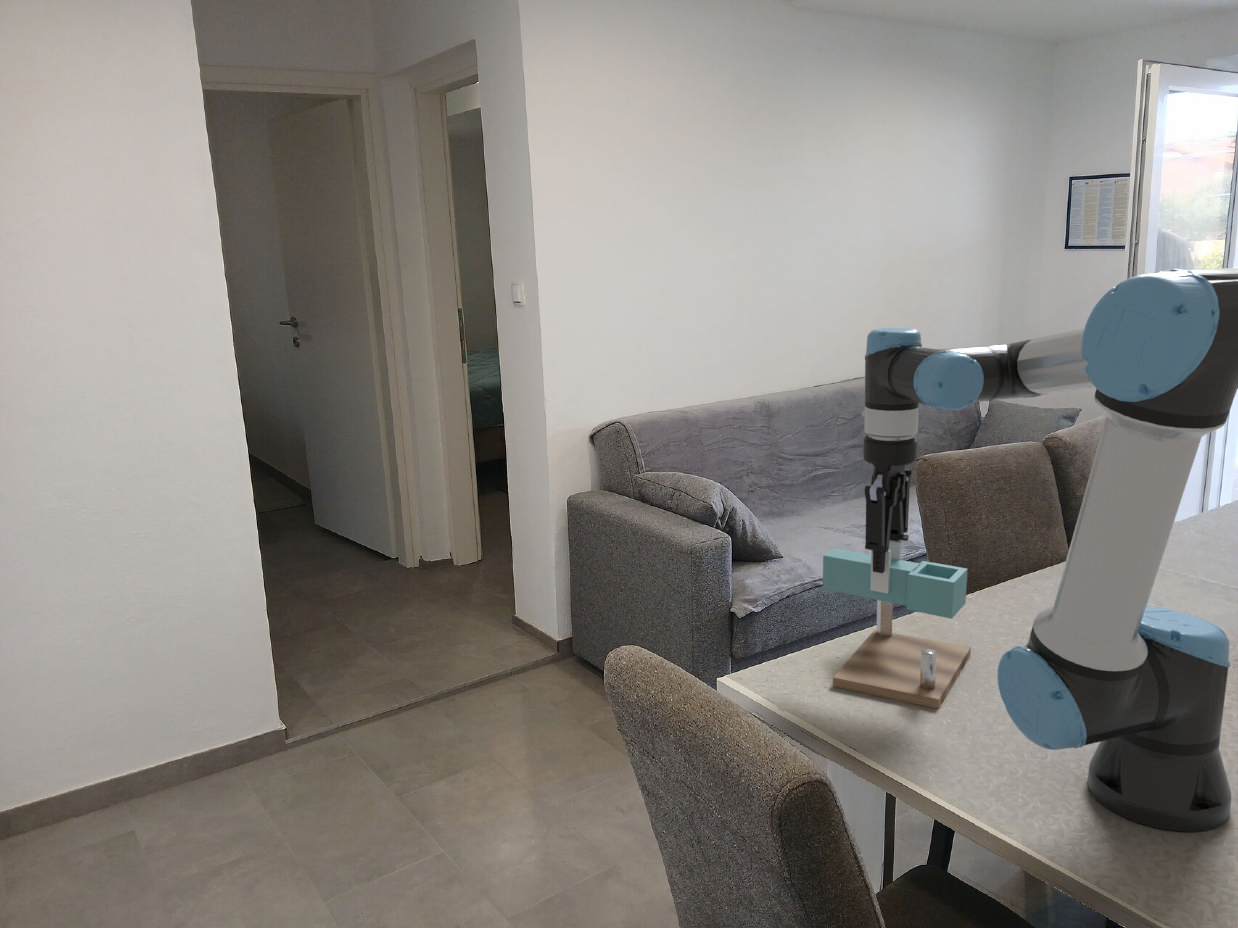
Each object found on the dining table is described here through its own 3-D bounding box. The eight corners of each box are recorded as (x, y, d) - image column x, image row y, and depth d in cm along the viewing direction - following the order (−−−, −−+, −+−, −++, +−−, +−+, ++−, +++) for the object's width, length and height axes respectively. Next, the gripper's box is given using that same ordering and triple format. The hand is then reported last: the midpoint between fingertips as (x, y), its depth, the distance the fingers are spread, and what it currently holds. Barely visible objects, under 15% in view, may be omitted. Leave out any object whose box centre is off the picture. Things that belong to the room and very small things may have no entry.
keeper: (913, 655, 158) (915, 586, 155) (877, 657, 158) (879, 589, 155) (899, 638, 165) (901, 572, 162) (864, 640, 164) (866, 574, 162)
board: (938, 708, 140) (938, 699, 140) (832, 686, 148) (833, 677, 148) (970, 655, 157) (970, 646, 157) (874, 637, 166) (874, 629, 165)
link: (965, 603, 142) (967, 568, 140) (951, 618, 137) (954, 582, 135) (836, 578, 153) (836, 545, 152) (819, 591, 148) (819, 557, 147)
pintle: (932, 699, 143) (934, 656, 141) (918, 696, 144) (919, 653, 142) (936, 693, 144) (938, 650, 143) (921, 690, 146) (923, 648, 144)
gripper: (886, 422, 148) (881, 565, 154) (843, 444, 135) (840, 599, 140) (934, 426, 144) (928, 573, 150) (895, 449, 131) (890, 609, 136)
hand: (885, 585), depth 145 cm, fingers closed on link, 4 cm apart
